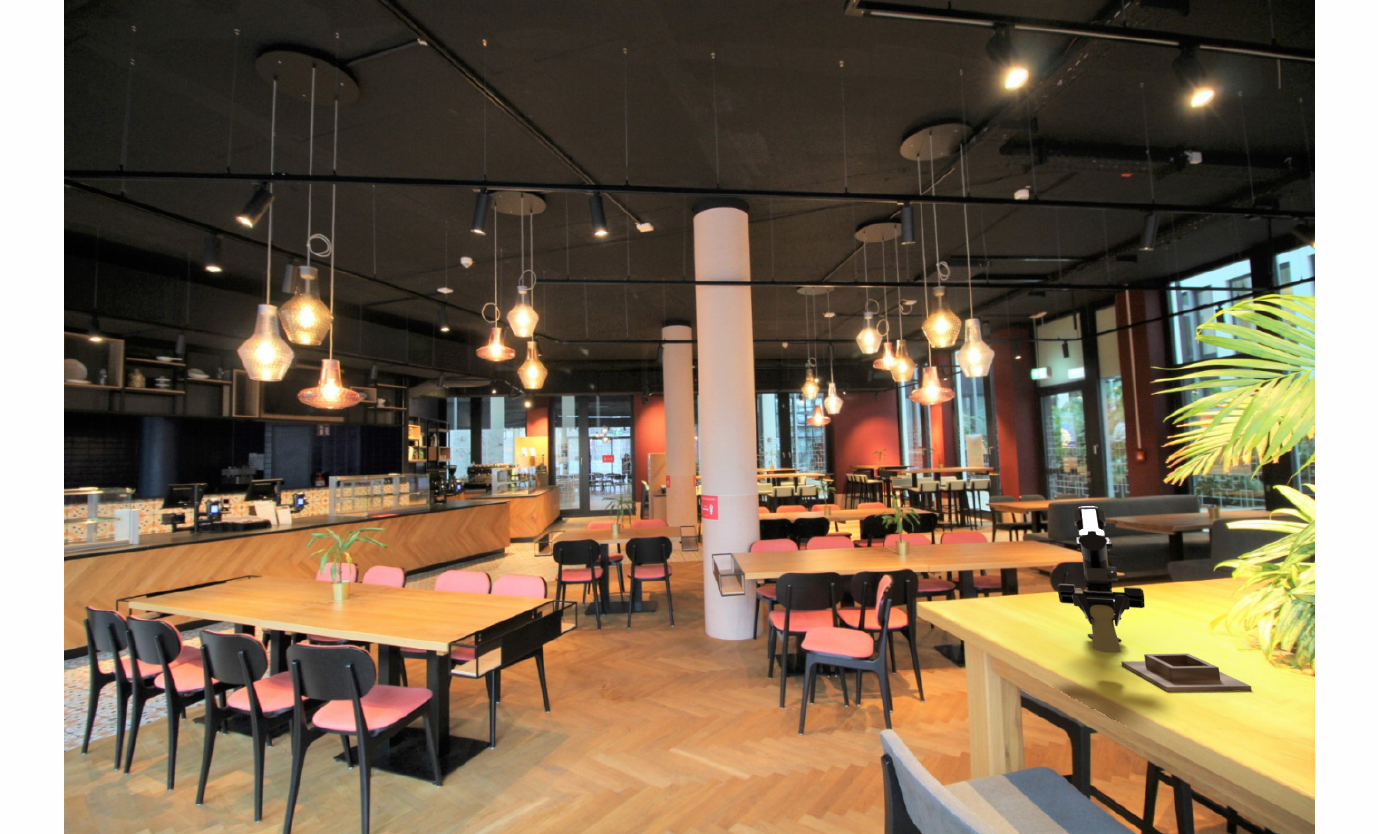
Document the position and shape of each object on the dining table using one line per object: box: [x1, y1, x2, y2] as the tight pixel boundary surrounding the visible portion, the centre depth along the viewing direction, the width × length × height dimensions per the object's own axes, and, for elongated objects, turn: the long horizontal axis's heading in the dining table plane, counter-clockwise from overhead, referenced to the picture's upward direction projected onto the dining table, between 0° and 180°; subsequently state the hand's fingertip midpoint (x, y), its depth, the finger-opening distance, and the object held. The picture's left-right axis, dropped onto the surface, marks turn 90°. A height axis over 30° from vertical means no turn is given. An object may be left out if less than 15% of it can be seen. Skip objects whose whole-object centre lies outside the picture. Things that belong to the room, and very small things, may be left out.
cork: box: [1090, 605, 1122, 654], centre depth 150 cm, size 6×6×11 cm
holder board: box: [1120, 653, 1253, 692], centre depth 145 cm, size 18×18×4 cm
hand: (1103, 624), depth 149 cm, fingers closed on cork, 5 cm apart
